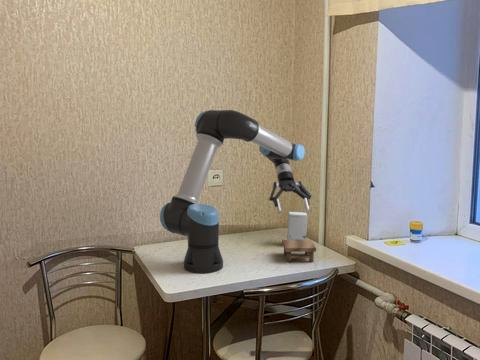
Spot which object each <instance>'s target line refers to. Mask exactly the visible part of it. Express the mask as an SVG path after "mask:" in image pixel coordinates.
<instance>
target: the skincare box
mask: <svg viewBox="0 0 480 360" xmlns="http://www.w3.org/2000/svg"><path fill="white" fill-rule="evenodd" d="M287 215H288V218H287V236H286V237H287V239H286V240H307V229H308V228H307V227H308V226H307V225H308V213H306V212H304V211H303V212H300V211H288V214H287Z"/></svg>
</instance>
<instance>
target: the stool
mask: <svg viewBox="0 0 480 360" xmlns="http://www.w3.org/2000/svg"><path fill="white" fill-rule="evenodd" d="M281 244H282V246H283V255H284V256H286V263H291V262H292V259H308V262H309V263H315V262H314V261H315V259H314V258H315V257H314V255H315V253H317V247H316V245H315V244H314V242H313V241H312V240H311V239H306V240H287V239H281ZM296 252H297V253H304V254H295V255H294V254H292V253H296Z"/></svg>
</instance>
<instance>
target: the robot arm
mask: <svg viewBox="0 0 480 360" xmlns="http://www.w3.org/2000/svg"><path fill="white" fill-rule="evenodd" d="M194 127H195V132H196V134H195V138H196V139H197V142H196V145H195V147H194V149H193V153H192V155H191V158H190V160H189V163H188V166H187V168H186V171H185V174H184V176H183V179H182V181H181V185H180V187H179V189H178V193H177V194H174V195H172V197H171V200H170V202H167V203H166V204H164V205H163V207H162V208H161V210H160V213H159V221H160V223H161V227H163V228H164V230H165V231H167V232H170V233H172V234H177V235H181V236H183V237H187V250H186V253H185V255H184V258H183V268H184V269H183V270H186V271H188V272H189V273H190V272H191V273H195V274H209V273H214V272H219V271H221V270H222V268H224V258H223V256H222V253H221V250H220V247H219V245H220V244H219V239H220V236H219V233H220V232H219V231H220V230H219V229H220V227H219V226H220V224H219V223H220V218H219V211H218V209H217V208H216V207H214V206H212V205H211V204H207V203H206V204H203V203H199V199H200V195H201V193H202V190H203V188H204V185H205V182H206V180H207V177H208V173H209V171H210V169H211V166H212V164H213V160H214V158H215V154H216V152H217V151H218V148H220V147H222V146H223V144H224V141H225V140H226V139H232V140H241V141H244V142H247V143H249V142H252V143H254V144H256V145H258V149H259V153H261V155H263V157H264V158H266V159H268V160H269V161H270V162H271V163H273V164H274V168H275V173H276V177H277V180H278V182H276V181H274V182H273V184H272V191H271V193H270V196H269V199H268V201H270V202H271V201H272V203H273V205H274V208H277V213H278V215H280V214H281V212H282V209H281V204H280V199H279V197H281V194H282V193H286V192H287V193H294V194H296V195H297V196H299V197H300V198H301V199H303V201H302V203H303V205H304V209H305V213H306V214H308V213H309V211H310V207H309V205H310V200H311V198H312V194H311V193H310V192H309V190H308V189H307V188H306V187H305V186H304V185H303V183H302V181H300V180H299V181H298V182H296V181H295V178H294V174H293V170H292V166H291V164H290V161H294V162H295V161H298V162H299V161H301V160H303V159H304V157H305V153H306V150H305V147H304V146H303V144H298V143H292V142H291V141H289V140H287V139H285V138H283V137H281V136H280V135H277V134H276V133H275V132H273V131H270V130H269V129H267V128H265V127H263V126H262V125H260V124H259V122H258V121H257V120H256V119H254V118H252V117H250V116H248V115H246V114H244V113H242V112H239V111H237V110H232V109H209V110H204V111H202V112H201V113H199V114H198V116H197V117H196V119H195V122H194ZM278 187H279V188H280V189H279V190H278V191H277V193H276V194H275V191H276V190H277V188H278ZM274 195H275V196H274Z"/></svg>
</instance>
